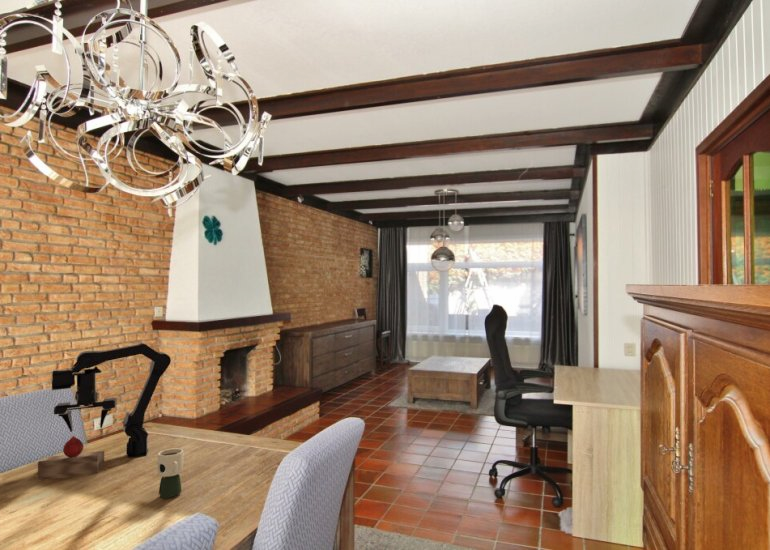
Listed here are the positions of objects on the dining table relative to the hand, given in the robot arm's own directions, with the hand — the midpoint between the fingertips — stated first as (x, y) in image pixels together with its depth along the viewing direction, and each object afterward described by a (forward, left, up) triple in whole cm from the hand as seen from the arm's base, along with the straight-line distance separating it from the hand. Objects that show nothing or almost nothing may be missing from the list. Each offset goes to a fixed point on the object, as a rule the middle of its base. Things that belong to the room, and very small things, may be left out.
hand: (86, 429), depth 169 cm
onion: (+3, +6, -8) cm, 11 cm away
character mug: (-30, +41, -12) cm, 52 cm away
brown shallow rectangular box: (+3, +6, -12) cm, 14 cm away
